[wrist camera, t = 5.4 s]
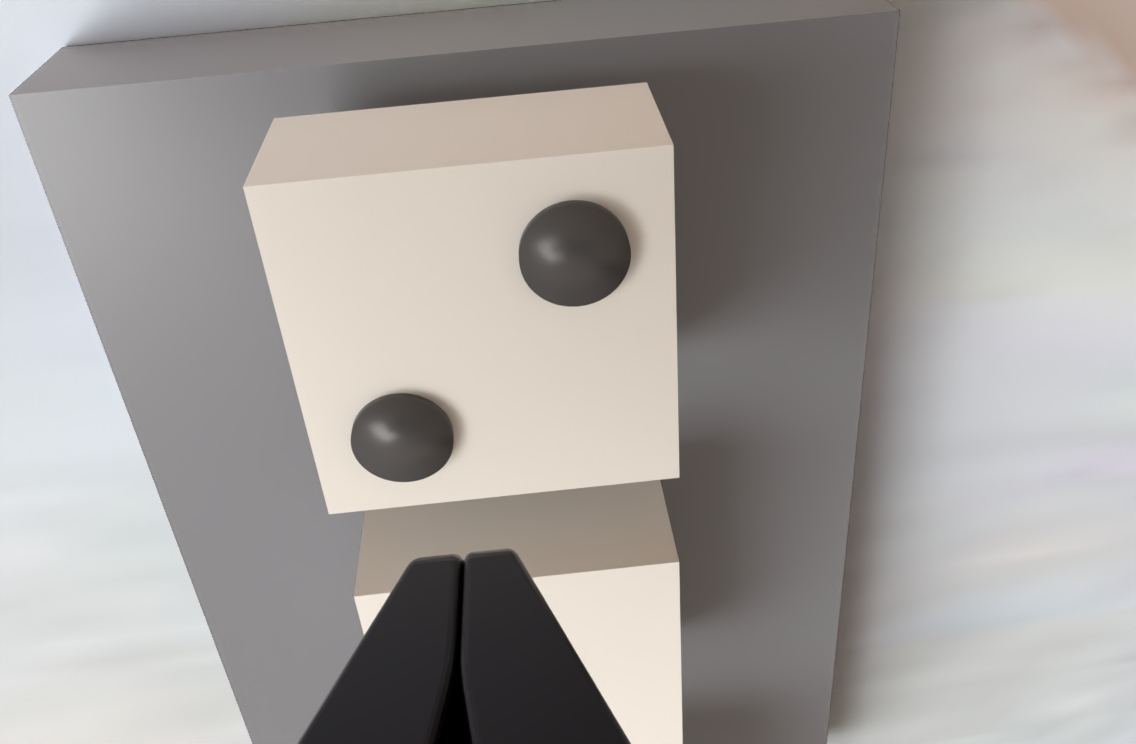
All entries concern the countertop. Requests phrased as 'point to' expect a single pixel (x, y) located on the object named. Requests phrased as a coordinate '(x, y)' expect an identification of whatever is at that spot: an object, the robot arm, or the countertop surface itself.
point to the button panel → (703, 304)
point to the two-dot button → (476, 293)
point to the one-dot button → (565, 581)
